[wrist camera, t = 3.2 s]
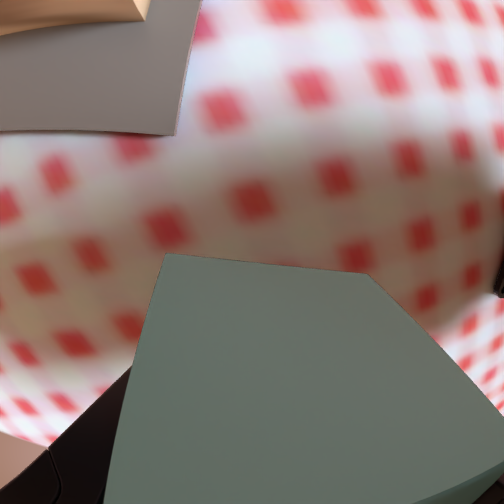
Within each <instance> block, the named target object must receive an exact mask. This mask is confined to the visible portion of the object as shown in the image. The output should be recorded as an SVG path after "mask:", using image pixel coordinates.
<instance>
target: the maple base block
mask: <svg viewBox="0 0 504 504" xmlns="http://www.w3.org/2000/svg"><path fill="white" fill-rule="evenodd" d="M150 1H151V0H0V36H1V35H5V34H10V33H15V32H20V31H25V30H31V29H37V28H44V27H51V26H59V25H68V24H79V23H92V22H115V21H145V20H146V16H147V12H148V8H149V5H150Z"/></svg>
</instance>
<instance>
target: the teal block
mask: <svg viewBox="0 0 504 504" xmlns="http://www.w3.org/2000/svg"><path fill="white" fill-rule="evenodd" d="M503 473H504V417H503V416H502V415H501V413H500V412H499V411H498V410H497V409H496V407H495V406H494V405H493V404H492V403H491V402H490V401H489V399H488V398H487V397H486V396H485V395H484V394H483V393H482V391H481V390H480V389H479V388H478V387H477V386H476V385H475V384H474V383H473V381H472V380H471V379H470V378H469V377H468V376H467V375H466V374H465V373H464V371H463V370H462V369H461V368H460V367H459V366H458V365H457V364H456V363H455V362H454V361H453V360H452V359H451V357H450V356H449V355H448V354H447V353H446V352H445V351H444V350H443V349H442V348H441V347H440V346H439V345H438V344H437V343H436V342H435V341H434V340H433V339H432V337H431V336H430V335H429V334H428V333H427V332H426V331H425V330H424V329H423V328H422V327H421V326H420V325H419V324H418V323H417V322H416V321H415V320H414V319H413V318H412V317H411V316H410V315H409V314H408V313H407V312H406V311H405V310H404V309H403V308H402V307H401V306H400V305H399V304H398V303H397V302H396V301H395V300H394V299H393V298H392V297H391V296H390V295H389V294H388V293H387V292H386V291H385V290H384V289H383V288H382V287H380V286H379V285H378V284H377V283H376V282H375V281H374V280H373V279H372V278H371V277H370V276H369V275H368V274H363V273H353V272H342V271H332V270H322V269H313V268H303V267H293V266H283V265H274V264H264V263H255V262H245V261H236V260H227V259H217V258H208V257H199V256H190V255H181V254H172V253H166V254H165V257H164V260H163V263H162V266H161V269H160V272H159V275H158V279H157V282H156V285H155V288H154V291H153V295H152V298H151V301H150V304H149V308H148V311H147V314H146V318H145V321H144V325H143V328H142V332H141V335H140V339H139V342H138V346H137V350H136V353H135V357H134V361H133V365H132V369H131V372H130V376H129V380H128V384H127V388H126V393H125V397H124V401H123V405H122V410H121V414H120V418H119V423H118V428H117V432H116V437H115V442H114V447H113V452H112V457H111V462H110V468H109V473H108V479H107V485H106V491H105V497H104V504H472V503H473V502H474V501H475V500H476V499H477V498H479V497H480V496H481V495H482V494H483V493H484V492H485V491H486V490H487V489H488V488H489V487H490V486H491V485H492V484H493V483H494V482H495V481H496V480H497V479H498V478H499V477H500V476H501V475H502V474H503Z"/></svg>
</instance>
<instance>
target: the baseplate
mask: <svg viewBox="0 0 504 504" xmlns="http://www.w3.org/2000/svg"><path fill="white" fill-rule="evenodd" d="M202 1H203V0H151V1H150V5H149V8H148V12H147V16H146V20H145V21H115V22H92V23H79V24H68V25H59V26H51V27H44V28H37V29H31V30H25V31H20V32H15V33H10V34H5V35H1V36H0V131H10V130H94V131H115V132H132V133H145V134H157V135H168V136H176V132H177V125H178V119H179V113H180V107H181V101H182V95H183V89H184V84H185V78H186V73H187V68H188V63H189V58H190V53H191V48H192V44H193V39H194V35H195V30H196V26H197V21H198V17H199V13H200V9H201V5H202Z"/></svg>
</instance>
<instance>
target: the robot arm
mask: <svg viewBox="0 0 504 504" xmlns="http://www.w3.org/2000/svg"><path fill="white" fill-rule="evenodd" d="M494 294H495V295H497V296H498V297H499V298H504V261H503V264H502V267H501V270H500V272H499V275H498V278H497V281H496V284H495V286H494ZM131 369H132V366H131V367H130V368H129V369H128V370H127V371H126V372H125V373H124V374H123V375H122V376H121V377H120V378H119V379H118V380H116V381H115V382H114V383H113V384H112V385H111V386H110V387H109V388H108V389H107V390H106V391H105V392H104V393H103V394H102V395H101V396H100V397H99V398H98V399H97V400H96V401H95V402H94V403H93V404H92V405H91V406H90V407H89V408H88V409H87V410H86V411H85V412H84V413H83V414H82V415H81V416H80V417H79V418H78V419H77V420H76V421H74V422H73V423H72V424H71V425H70V426H69V427H68V428H67V429H66V430H65V431H64V432H63V433H62V434H61V435H60V436H59V437H58V438H57V439H56V440H55V441H54V442H53V443H52V444H51V445H50V446H49V447H48V449H49V450H47V449H46V450H45V451H44V452H43V453H42V454H41V455H40V456H39V457H37V458H36V460H34V461H33V462H32V463H31V464H30V465H29V466H28V467H27V468H26V469H25V470H23V471H22V472H21V473H20V474H19V475H18V476H17V477H15V478H14V479H13V480H11V481H10V482H9V483H8V484H6V485H5V486H4V487H2V488H1V489H0V504H104V497H105V491H106V485H107V479H108V473H109V468H110V462H111V457H112V452H113V447H114V442H115V437H116V432H117V428H118V423H119V418H120V414H121V410H122V405H123V401H124V397H125V393H126V388H127V384H128V380H129V376H130V372H131ZM472 504H504V473H503V474H502V475H501V476H500V477H499V478H498V479H497V480H496V481H495V482H494V483H493V484H492V485H491V486H490V487H489V488H488V489H487V490H486V491H485V492H484V493H483V494H482V495H481V496H480V497H479V498H477V499H476V500H475V501H474V502H473V503H472Z"/></svg>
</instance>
